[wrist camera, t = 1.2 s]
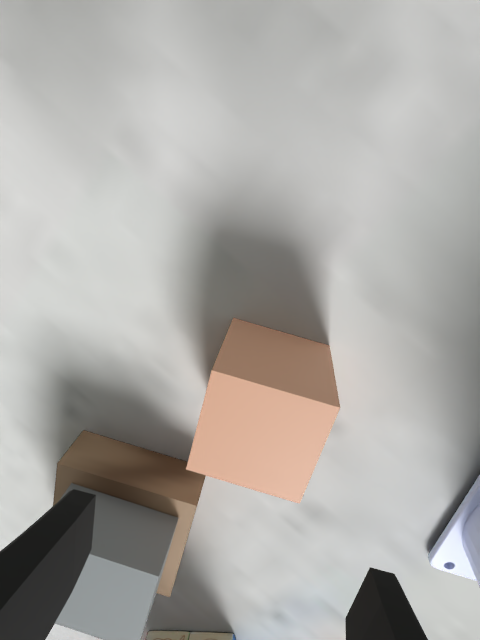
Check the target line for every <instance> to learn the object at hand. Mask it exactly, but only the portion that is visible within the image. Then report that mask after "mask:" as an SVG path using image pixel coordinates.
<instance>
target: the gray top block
mask: <svg viewBox="0 0 480 640" xmlns="http://www.w3.org/2000/svg"><path fill="white" fill-rule="evenodd" d="M73 489H75V490H79V491H83V492H87V493H91V494H94V495H96V502H95V514H94V526H93V538H92V549H91V552H90V554H89V556H88V558H87V561H86V563H85V565H84V567H83V570H82V572H81V574H80V576H79V578H78V581H77V583H76V585H75V587H74V589H73V591H72V593H71V595H70V597H69V599H68V600H67V602H66V604H65V606H64V608H63V609H62V611H61V613H60V615H59V616H58V618H57V620H56V622H55V624H58V625H61V626H64V627H67V628H70V629H73V630H76V631H79V632H82V633H85V634H88V635H91V636H94V637H97V638H100V639H103V640H141V637H142V634H143V631H144V628H145V625H146V622H147V619H148V616H149V613H150V610H151V607H152V604H153V601H154V598H155V595H156V592H157V589H158V586H159V583H160V579H161V576H162V573H163V569H164V566H165V562H166V559H167V556H168V552H169V549H170V546H171V542H172V539H173V536H174V532H175V529H176V525H177V522H178V519H179V518H178V517H175V516H172V515H169V514H166V513H162V512H159V511H156V510H153V509H150V508H147V507H144V506H141V505H138V504H135V503H132V502H129V501H126V500H122V499H119V498H116V497H113V496H110V495H107V494H104V493H101V492H98V491H95V490H92V489H89V488H86V487H82V486H79V485H76V484H73V483H71V484H70V486H69V487H68V489H67V490H66V492H65V493H64V494H63V496H62V497H61V499H62V498H63V497H64V496H65V495H66V494H67V493H68V492H69V491H71V490H73ZM61 499H60V500H61Z"/></svg>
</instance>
